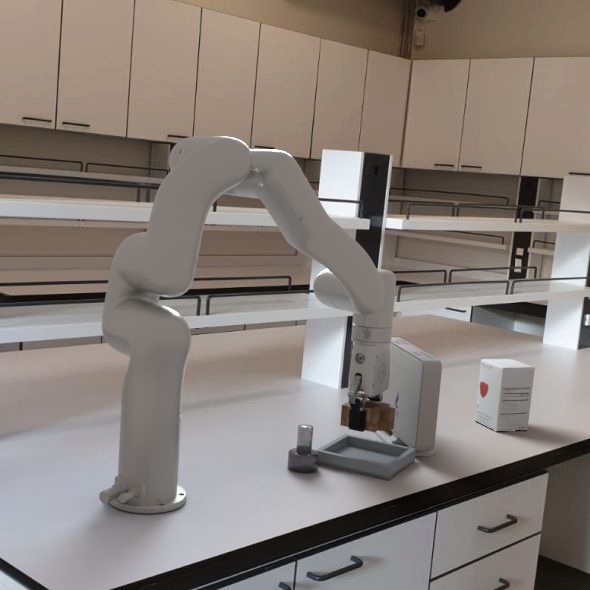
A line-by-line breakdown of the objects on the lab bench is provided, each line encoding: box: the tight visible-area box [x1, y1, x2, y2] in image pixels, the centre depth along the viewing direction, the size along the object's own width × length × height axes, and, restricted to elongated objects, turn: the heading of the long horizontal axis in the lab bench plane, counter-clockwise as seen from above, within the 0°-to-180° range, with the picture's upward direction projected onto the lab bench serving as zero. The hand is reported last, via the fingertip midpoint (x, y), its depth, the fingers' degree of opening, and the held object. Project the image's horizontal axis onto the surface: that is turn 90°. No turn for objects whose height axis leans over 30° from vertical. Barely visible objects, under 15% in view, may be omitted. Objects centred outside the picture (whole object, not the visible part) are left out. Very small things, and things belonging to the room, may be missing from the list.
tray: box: [314, 433, 417, 481], centre depth 166 cm, size 14×15×2 cm
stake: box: [287, 423, 319, 474], centre depth 160 cm, size 6×6×8 cm
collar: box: [339, 397, 395, 433], centre depth 165 cm, size 9×7×4 cm
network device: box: [373, 337, 443, 457], centre depth 181 cm, size 26×9×20 cm, turn 13°
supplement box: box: [474, 358, 536, 432], centre depth 199 cm, size 9×9×15 cm
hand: (364, 424), depth 166 cm, fingers closed on collar, 7 cm apart
